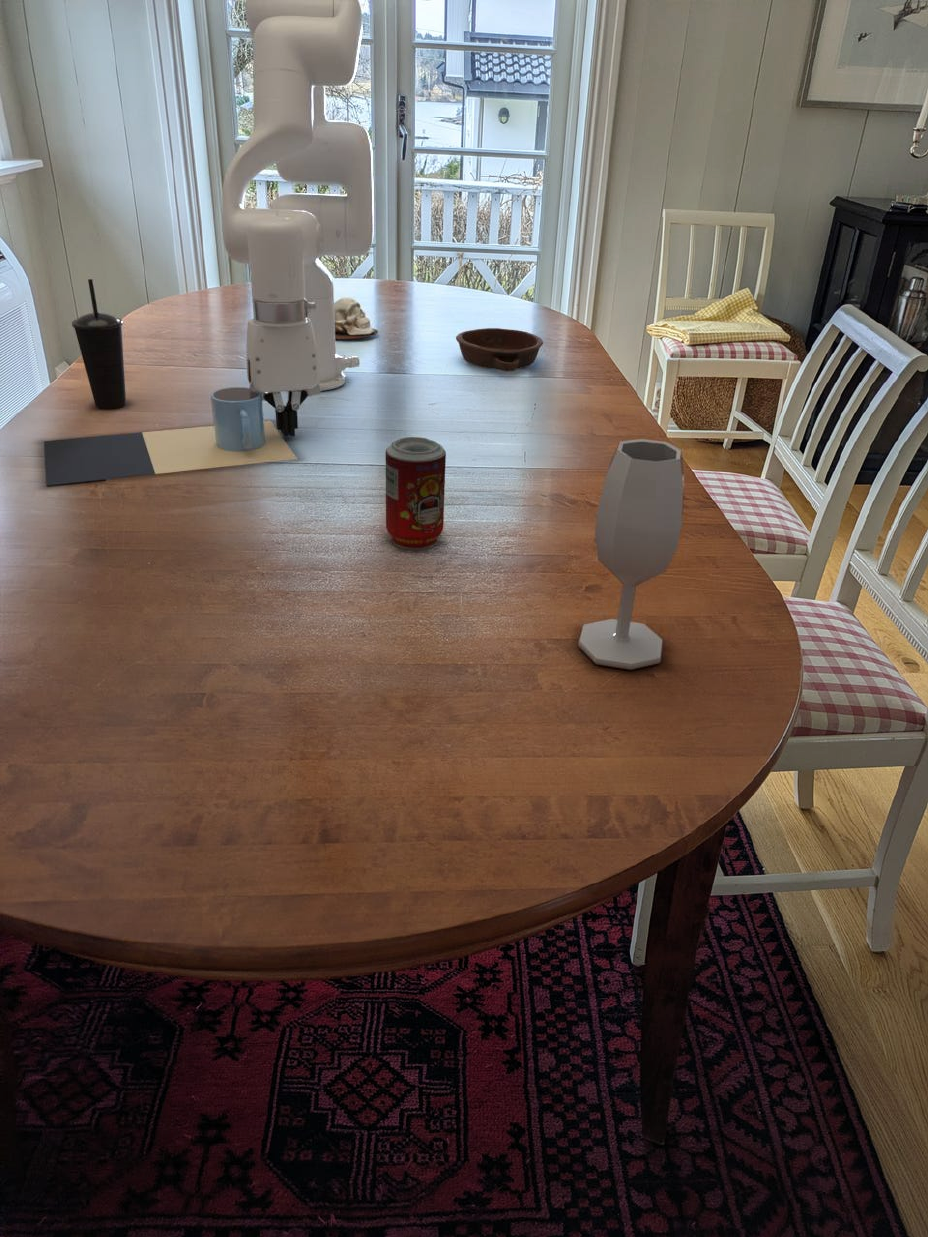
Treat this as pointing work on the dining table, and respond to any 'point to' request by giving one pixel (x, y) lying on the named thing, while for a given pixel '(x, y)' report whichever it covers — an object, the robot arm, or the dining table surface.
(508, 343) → the dish
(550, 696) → the dining table surface
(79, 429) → the dining table surface
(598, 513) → the wineglass
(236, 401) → the mug
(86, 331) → the drinking cup
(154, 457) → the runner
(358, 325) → the skull
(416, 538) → the soda can
